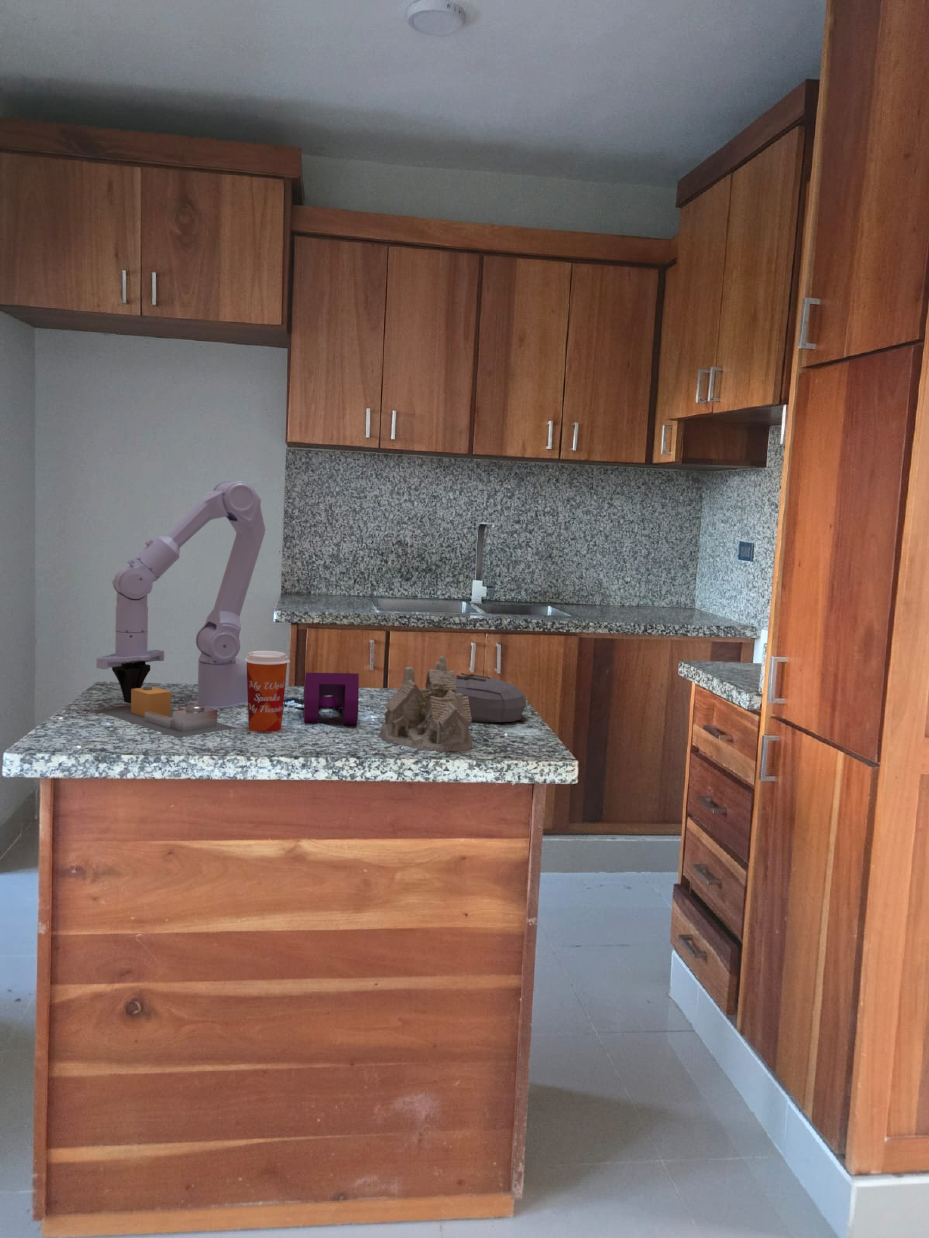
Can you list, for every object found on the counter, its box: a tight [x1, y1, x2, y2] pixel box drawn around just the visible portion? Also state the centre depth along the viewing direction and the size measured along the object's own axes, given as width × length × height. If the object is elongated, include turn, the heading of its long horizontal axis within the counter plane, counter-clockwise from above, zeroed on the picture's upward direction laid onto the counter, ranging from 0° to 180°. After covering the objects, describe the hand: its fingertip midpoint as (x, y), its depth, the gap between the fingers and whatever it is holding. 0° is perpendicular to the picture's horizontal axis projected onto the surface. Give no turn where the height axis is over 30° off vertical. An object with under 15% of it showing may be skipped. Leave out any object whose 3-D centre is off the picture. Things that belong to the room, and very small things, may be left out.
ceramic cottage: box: [378, 656, 473, 753], centre depth 176 cm, size 16×16×15 cm
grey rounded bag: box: [455, 672, 527, 724], centre depth 200 cm, size 15×8×20 cm
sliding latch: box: [145, 703, 218, 732], centre depth 178 cm, size 8×11×4 cm
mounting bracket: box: [302, 672, 360, 726], centre depth 192 cm, size 10×9×19 cm
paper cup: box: [244, 650, 291, 733], centre depth 177 cm, size 8×8×14 cm
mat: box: [94, 704, 236, 738], centre depth 181 cm, size 12×27×1 cm, turn 49°
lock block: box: [130, 686, 172, 717], centre depth 184 cm, size 4×6×5 cm
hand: (130, 702), depth 189 cm, fingers closed
